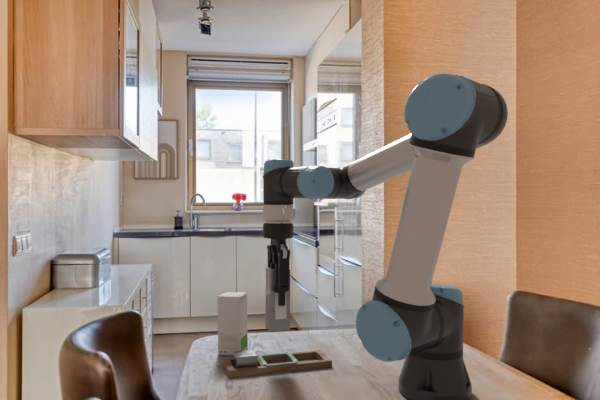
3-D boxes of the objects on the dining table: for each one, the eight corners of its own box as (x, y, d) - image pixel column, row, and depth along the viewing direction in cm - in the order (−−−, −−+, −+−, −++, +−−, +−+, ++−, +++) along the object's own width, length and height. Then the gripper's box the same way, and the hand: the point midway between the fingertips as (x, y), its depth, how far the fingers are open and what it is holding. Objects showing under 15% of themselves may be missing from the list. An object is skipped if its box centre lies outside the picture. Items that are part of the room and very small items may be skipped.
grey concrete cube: (257, 372, 120) (257, 355, 120) (236, 374, 118) (236, 357, 118) (253, 365, 124) (253, 349, 124) (233, 367, 123) (233, 351, 123)
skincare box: (240, 356, 131) (240, 297, 131) (215, 355, 132) (215, 296, 132) (248, 347, 139) (248, 291, 139) (225, 346, 140) (225, 290, 140)
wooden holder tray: (332, 366, 123) (332, 359, 123) (229, 377, 115) (229, 369, 115) (319, 355, 132) (319, 348, 132) (223, 364, 124) (223, 357, 124)
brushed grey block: (290, 330, 122) (290, 269, 122) (270, 332, 121) (270, 270, 121) (284, 325, 127) (285, 266, 127) (265, 326, 126) (265, 267, 125)
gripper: (303, 224, 116) (302, 323, 116) (283, 220, 133) (282, 307, 134) (272, 224, 114) (271, 326, 114) (255, 220, 131) (255, 308, 131)
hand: (277, 315), depth 124 cm, fingers closed on brushed grey block, 5 cm apart
